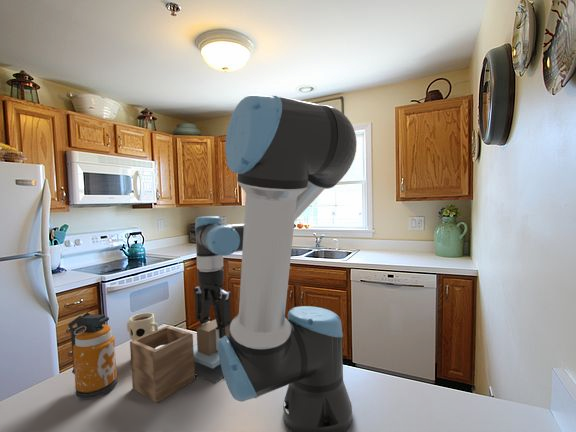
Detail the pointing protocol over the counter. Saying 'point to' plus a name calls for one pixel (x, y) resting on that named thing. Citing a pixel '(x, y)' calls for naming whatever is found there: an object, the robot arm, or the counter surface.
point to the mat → (208, 372)
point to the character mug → (141, 325)
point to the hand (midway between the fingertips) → (213, 345)
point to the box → (162, 362)
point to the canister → (93, 356)
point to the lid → (207, 345)
